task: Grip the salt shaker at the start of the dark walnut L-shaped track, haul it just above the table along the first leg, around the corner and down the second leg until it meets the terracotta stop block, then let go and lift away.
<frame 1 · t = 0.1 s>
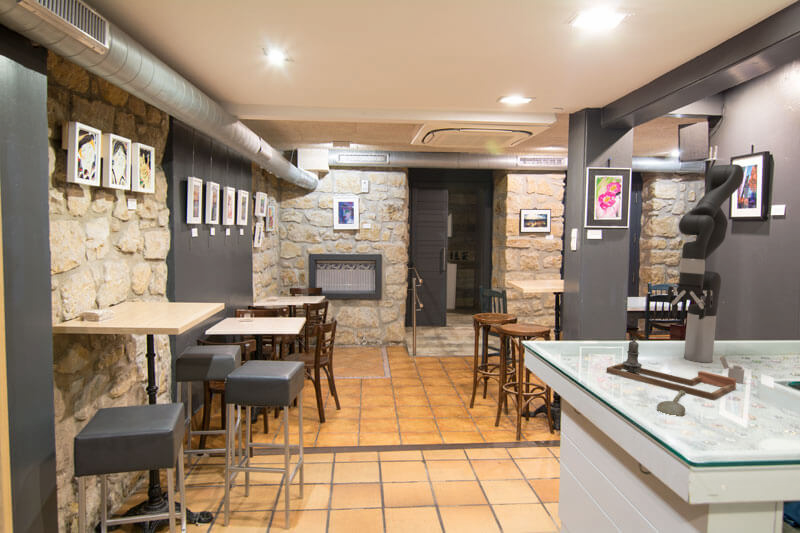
hand: (687, 317, 180), 17 cm above the counter, tool pointing down, fingers open, 8 cm apart
track: (668, 380, 162), on the counter
salt shaker: (631, 375, 167), resting in track
soupspoon: (675, 406, 139), on the counter
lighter: (729, 381, 164), on the counter
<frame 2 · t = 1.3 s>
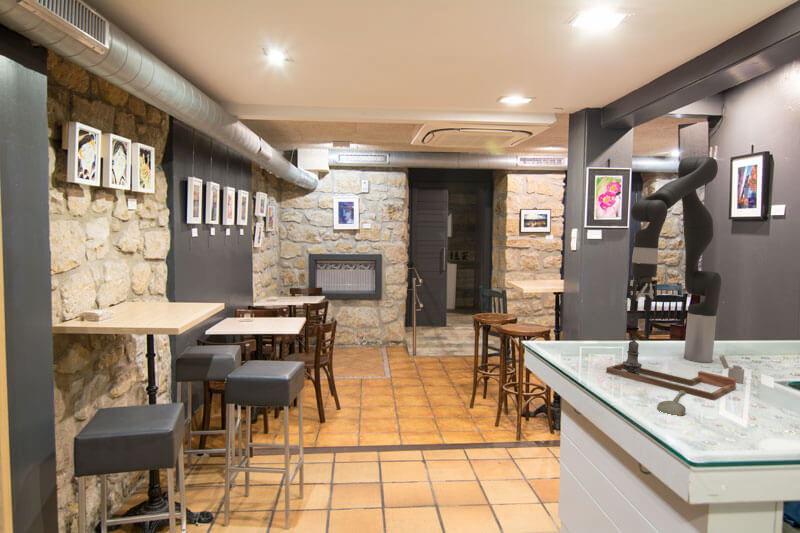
hand: (640, 311, 166), 21 cm above the counter, tool pointing down, fingers open, 8 cm apart
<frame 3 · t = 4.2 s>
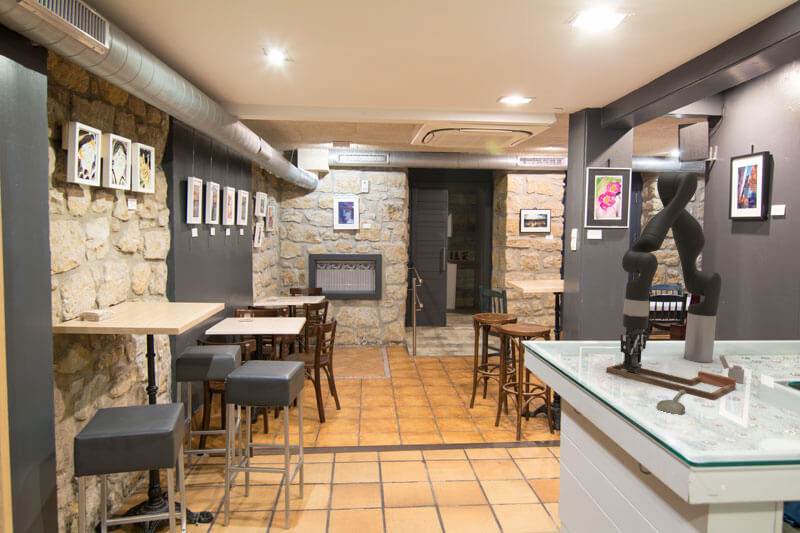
hand: (632, 363, 167), 4 cm above the counter, tool pointing down, fingers closed on salt shaker, 6 cm apart
salt shaker: (631, 375, 167), resting in track, touching gripper
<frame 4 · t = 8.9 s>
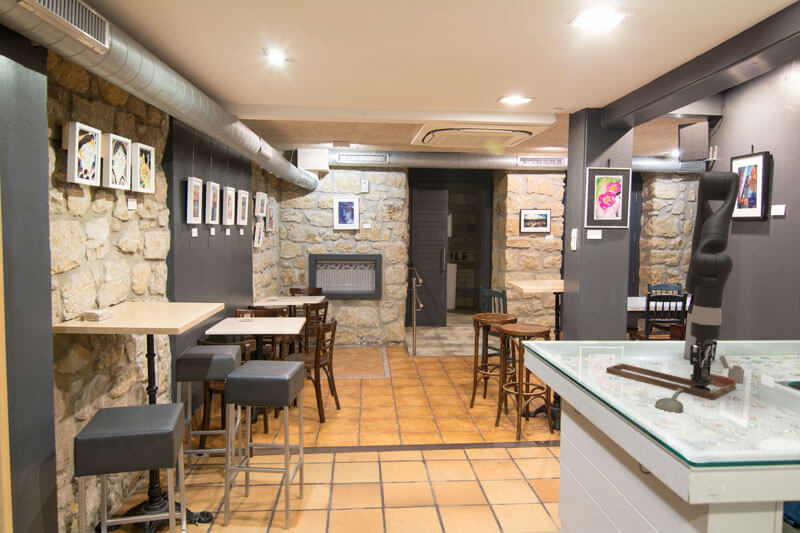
hand: (701, 377, 151), 4 cm above the counter, tool pointing down, fingers closed on salt shaker, 6 cm apart
salt shaker: (700, 389, 151), point 1 cm above the counter, touching gripper
soupspoon: (673, 403, 142), on the counter
everything else where it was.
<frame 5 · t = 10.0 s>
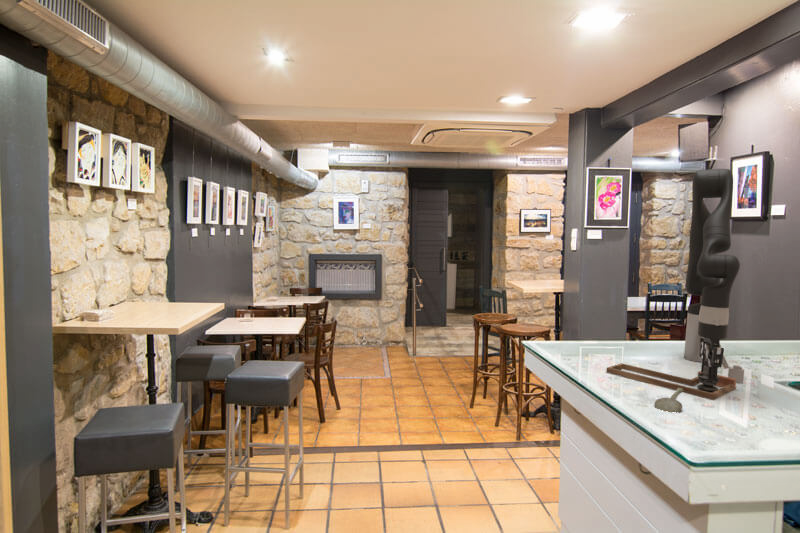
hand: (708, 376, 153), 4 cm above the counter, tool pointing down, fingers closed on salt shaker, 6 cm apart
salt shaker: (707, 388, 153), resting in track, touching gripper
everything else where it was.
when the fingers open (4 cm above the counter, at t = 12.6 s): salt shaker stays where it is, resting in track.
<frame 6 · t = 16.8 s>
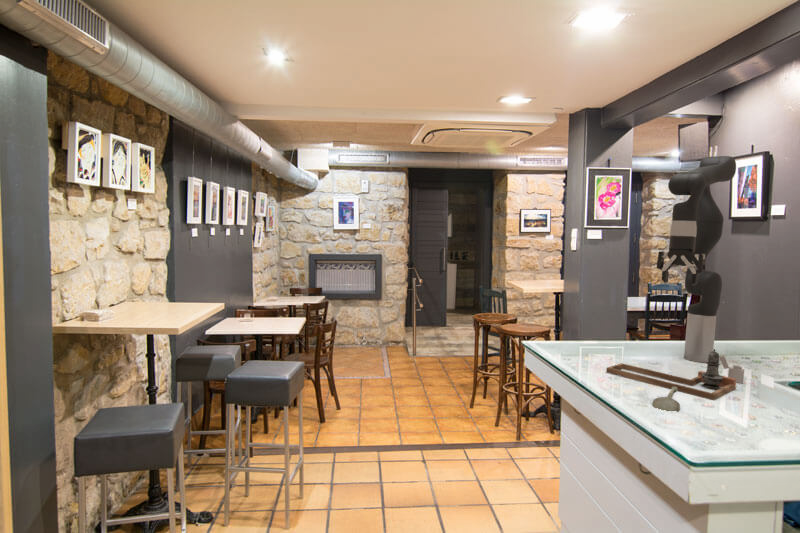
hand: (679, 283, 168), 30 cm above the counter, tool pointing down, fingers open, 8 cm apart
salt shaker: (711, 387, 156), resting in track
at the end: salt shaker 0.6 cm from the target spot, resting in track; salt shaker tilted 0°; the gripper is holding nothing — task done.
